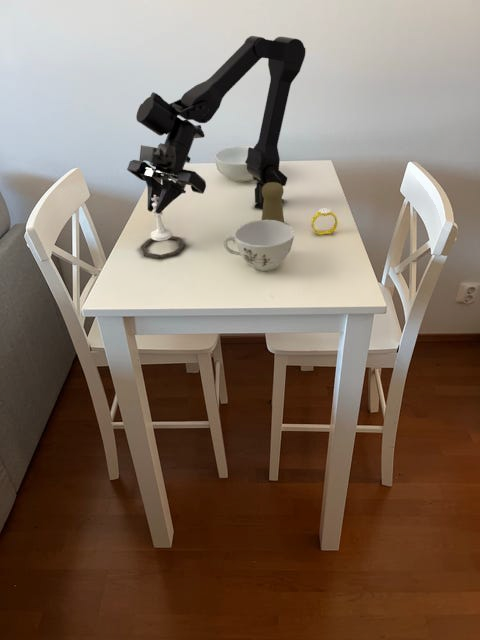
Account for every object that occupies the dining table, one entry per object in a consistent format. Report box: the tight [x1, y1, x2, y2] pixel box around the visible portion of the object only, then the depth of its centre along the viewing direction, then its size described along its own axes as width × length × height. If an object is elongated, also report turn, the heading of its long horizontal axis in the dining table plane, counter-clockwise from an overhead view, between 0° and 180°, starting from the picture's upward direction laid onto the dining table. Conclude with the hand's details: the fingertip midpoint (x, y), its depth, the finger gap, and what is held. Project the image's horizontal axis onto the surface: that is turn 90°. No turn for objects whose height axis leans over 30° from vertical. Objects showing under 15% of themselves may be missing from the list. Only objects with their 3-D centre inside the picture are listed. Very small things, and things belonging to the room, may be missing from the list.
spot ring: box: [139, 235, 186, 260], centre depth 111 cm, size 10×10×1 cm
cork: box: [261, 182, 285, 223], centre depth 114 cm, size 6×6×11 cm
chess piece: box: [150, 195, 173, 242], centre depth 106 cm, size 5×5×10 cm
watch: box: [311, 207, 339, 236], centre depth 111 cm, size 6×3×6 cm, turn 91°
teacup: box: [223, 219, 295, 272], centre depth 101 cm, size 15×12×8 cm
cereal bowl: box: [214, 145, 255, 183], centre depth 142 cm, size 17×17×7 cm
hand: (153, 212), depth 104 cm, fingers closed on chess piece
